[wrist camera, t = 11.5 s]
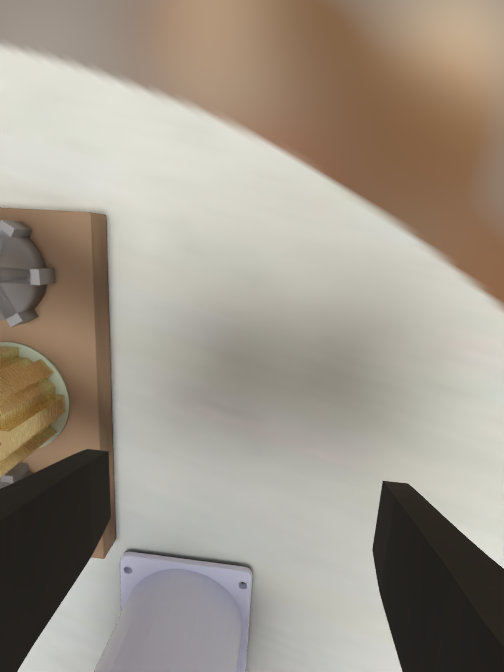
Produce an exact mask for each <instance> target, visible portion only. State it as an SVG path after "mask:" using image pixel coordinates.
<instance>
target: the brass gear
mask: <svg viewBox="0 0 504 672" xmlns="http://www.w3.org/2000/svg"><path fill="white" fill-rule="evenodd" d="M53 373H54V371H53V370H52V369H51V368H50V367H49V366H48V365H47V364H46V363H45V362H44V361H43V360H42V359H41V360H38V361H36V362H34V363H33V362H32V361H31V360H30V359H29V358H27V357H19V348H18V347H11V346H0V478H1V477H3V476H4V475H5V474H7V473H8V472H9V471H10V470H12V469H13V468H14V467H15V466H17V465H18V464H19V463H20V462H22V461H23V460H24V459H26V458H27V457H28V456H29V455H31V454H32V453H33V452H34V451H36V450H37V449H38V448H40V447H41V446H42V445H43V444H45V443H46V442H47V441H48V440H49V439H50V438H52V437H53V436H54V435H55V434H56V433H57V431H56V430H55V429H54V428H53V427H52V426H51V425H52V424H53V423H54V422H55V421H56V420H57V418H58V417H59V416H61V415H62V414H63V413H65V412H66V407H65V395H56V391H55V385H54V384H53V383H52V381H51V380H50V379H49V377H50V376H51V375H52V374H53Z"/></svg>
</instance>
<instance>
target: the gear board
mask: <svg viewBox="0 0 504 672" xmlns="http://www.w3.org/2000/svg"><path fill="white" fill-rule="evenodd" d="M0 346H11V347H18V348H19V357H27V358H29V359H30V360H31V361H32V362H33V363H34V362H36V361H38V360H41V359H42V360H43V361H44V362H45V363H46V364H47V365H48V366H49V367H50V368H51V369H52V370H53V371H54V373H53V374H52V375H51V376H50V377H49V379H50V380H51V381H52V383H53V384H54V385H55V391H56V395H65V407H66V412H65V413H63V414H62V415H61V416H59V417H58V418H57V420H56V421H55V422H54V423H53V424H52V425H51V426H52V427H53V428H54V429H55V430H56V431H57V433H56V434H55V435H54V436H53V437H52V438H50V439H49V440H48V441H47V442H46V443H45V444H43V445H42V446H41V447H40V448H38V449H37V450H36V451H34V452H33V453H32V454H31V455H29V456H28V457H27V458H26V459H24V460H23V461H22V462H20V463H19V464H18V465H17V466H15V467H14V468H13V469H12V470H10V471H9V472H8V473H7V474H5V475H4V476H3V477H1V478H0V489H1V488H3V487H6V486H8V485H10V484H12V483H14V482H16V481H18V480H20V479H23V478H25V477H27V476H29V475H31V474H33V473H35V472H37V471H39V470H41V469H43V468H45V467H48V466H50V465H52V464H54V463H56V462H58V461H60V460H62V459H64V458H67V457H69V456H71V455H73V454H75V453H78V452H80V451H83V450H86V449H93V450H102V451H109V473H110V504H111V518H110V520H109V522H108V525H107V527H106V529H105V531H104V533H103V535H102V537H101V539H100V541H99V543H98V545H97V547H96V549H95V551H94V553H93V555H92V556H91V557H93V558H101V559H104V558H105V556H106V555H107V553H108V551H109V550H110V548H111V547H112V545H113V543H114V542H115V540H116V533H115V500H114V467H113V434H112V400H111V367H110V334H109V301H108V267H107V234H106V215H102V214H96V213H90V212H71V211H52V210H33V209H13V208H0Z"/></svg>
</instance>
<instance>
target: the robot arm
mask: <svg viewBox="0 0 504 672" xmlns="http://www.w3.org/2000/svg"><path fill="white" fill-rule="evenodd" d="M110 518H111V504H110V473H109V451H102V450H93V449H86V450H83V451H80V452H78V453H75V454H73V455H71V456H69V457H67V458H64V459H62V460H60V461H58V462H56V463H54V464H52V465H50V466H48V467H45V468H43V469H41V470H39V471H37V472H35V473H33V474H31V475H29V476H27V477H25V478H23V479H20V480H18V481H16V482H14V483H12V484H10V485H8V486H6V487H3V488H1V489H0V672H17V671H18V669H19V667H20V666H21V664H22V663H23V661H24V659H25V658H26V656H27V654H28V653H29V651H30V650H31V648H32V646H33V645H34V643H35V642H36V640H37V639H38V637H39V636H40V634H41V633H42V631H43V629H44V628H45V626H46V625H47V623H48V622H49V620H50V619H51V617H52V616H53V614H54V613H55V611H56V610H57V608H58V607H59V605H60V604H61V602H62V601H63V599H64V598H65V596H66V595H67V593H68V592H69V590H70V589H71V587H72V586H73V584H74V583H75V581H76V579H77V578H78V576H79V575H80V573H81V572H82V570H83V569H84V567H85V566H86V564H87V562H88V561H89V559H90V558H91V556H92V555H93V553H94V551H95V549H96V547H97V545H98V543H99V541H100V539H101V537H102V535H103V533H104V531H105V529H106V527H107V525H108V522H109V520H110ZM373 556H374V562H375V569H376V575H377V580H378V586H379V591H380V595H381V599H382V602H383V606H384V609H385V613H386V616H387V620H388V623H389V627H390V630H391V634H392V637H393V641H394V644H395V648H396V651H397V654H398V658H399V661H400V665H401V668H402V671H403V672H504V569H503V568H502V567H501V566H500V565H498V564H497V563H496V562H495V561H494V560H492V559H491V558H490V557H489V556H488V555H486V554H485V553H484V552H483V551H482V550H481V549H479V548H478V547H477V546H476V545H475V544H474V543H473V542H471V541H470V540H469V539H468V538H467V537H466V536H465V535H464V534H462V533H461V532H460V531H459V530H458V529H457V528H456V527H455V526H454V525H453V524H452V523H450V522H449V521H448V520H447V519H446V518H445V517H444V516H443V515H442V514H441V513H440V512H439V511H438V510H436V509H435V508H434V507H433V506H432V505H431V504H430V503H429V502H428V501H427V500H426V499H425V498H424V497H423V496H421V495H420V494H419V493H418V492H417V491H416V490H415V489H414V488H413V487H411V486H410V485H409V484H407V483H398V482H388V481H383V484H382V490H381V497H380V503H379V510H378V517H377V523H376V530H375V536H374V543H373ZM127 566H128V567H130V568H128V567H127ZM120 579H121V615H120V617H119V619H118V622H117V624H116V626H115V628H114V630H113V632H112V634H111V636H110V639H109V641H108V643H107V645H106V647H105V649H104V651H103V654H102V656H101V658H100V660H99V662H98V664H97V666H96V669H95V671H94V672H246V662H247V647H248V632H249V617H250V603H251V588H252V571H251V570H250V569H249V568H247V567H243V566H235V565H227V564H220V563H212V562H205V561H197V560H189V559H182V558H174V557H166V556H159V555H151V554H144V553H136V552H125V553H124V554H123V555H122V557H121V559H120ZM241 582H245V583H246V584H243V583H241Z"/></svg>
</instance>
